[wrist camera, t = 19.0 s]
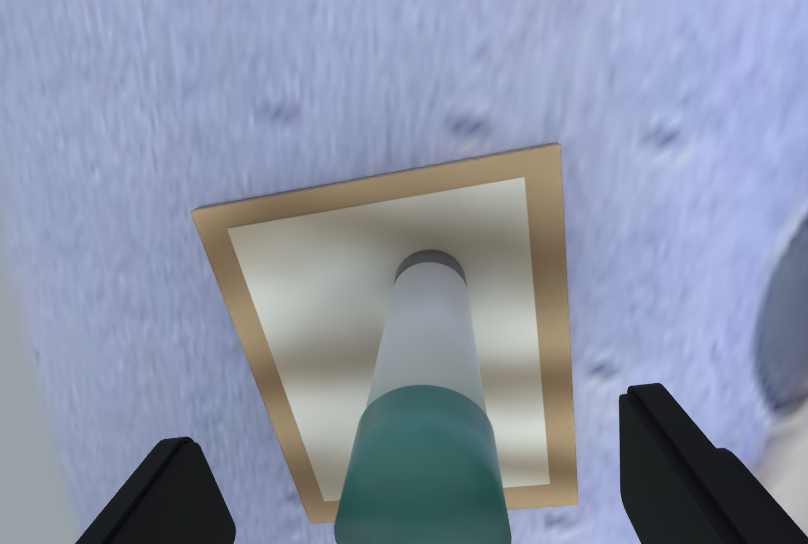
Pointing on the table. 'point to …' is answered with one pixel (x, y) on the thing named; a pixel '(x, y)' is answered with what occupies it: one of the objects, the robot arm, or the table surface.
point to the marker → (425, 424)
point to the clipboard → (369, 300)
